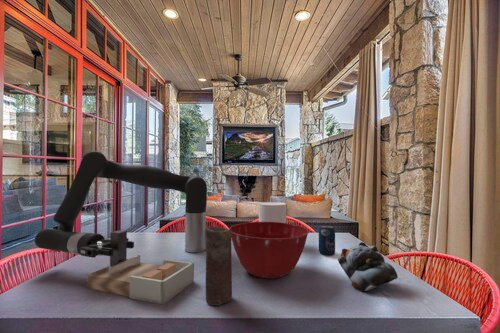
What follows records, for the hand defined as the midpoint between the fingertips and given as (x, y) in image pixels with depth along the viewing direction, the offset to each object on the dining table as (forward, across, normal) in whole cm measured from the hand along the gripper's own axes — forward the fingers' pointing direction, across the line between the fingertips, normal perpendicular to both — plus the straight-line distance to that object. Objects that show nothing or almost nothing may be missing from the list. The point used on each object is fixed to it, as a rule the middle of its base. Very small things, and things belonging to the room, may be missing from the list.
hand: (123, 248), depth 85 cm
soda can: (+61, +52, +11) cm, 81 cm away
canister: (+35, +59, +11) cm, 70 cm away
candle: (+34, 0, +11) cm, 36 cm away
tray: (+16, 0, +11) cm, 19 cm away
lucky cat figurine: (+74, +24, +11) cm, 79 cm away
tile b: (+13, -3, +7) cm, 15 cm away
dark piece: (-2, 0, +7) cm, 7 cm away
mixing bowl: (+42, +24, +11) cm, 50 cm away
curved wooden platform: (+2, 0, +11) cm, 11 cm away
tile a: (+13, +3, +7) cm, 15 cm away
